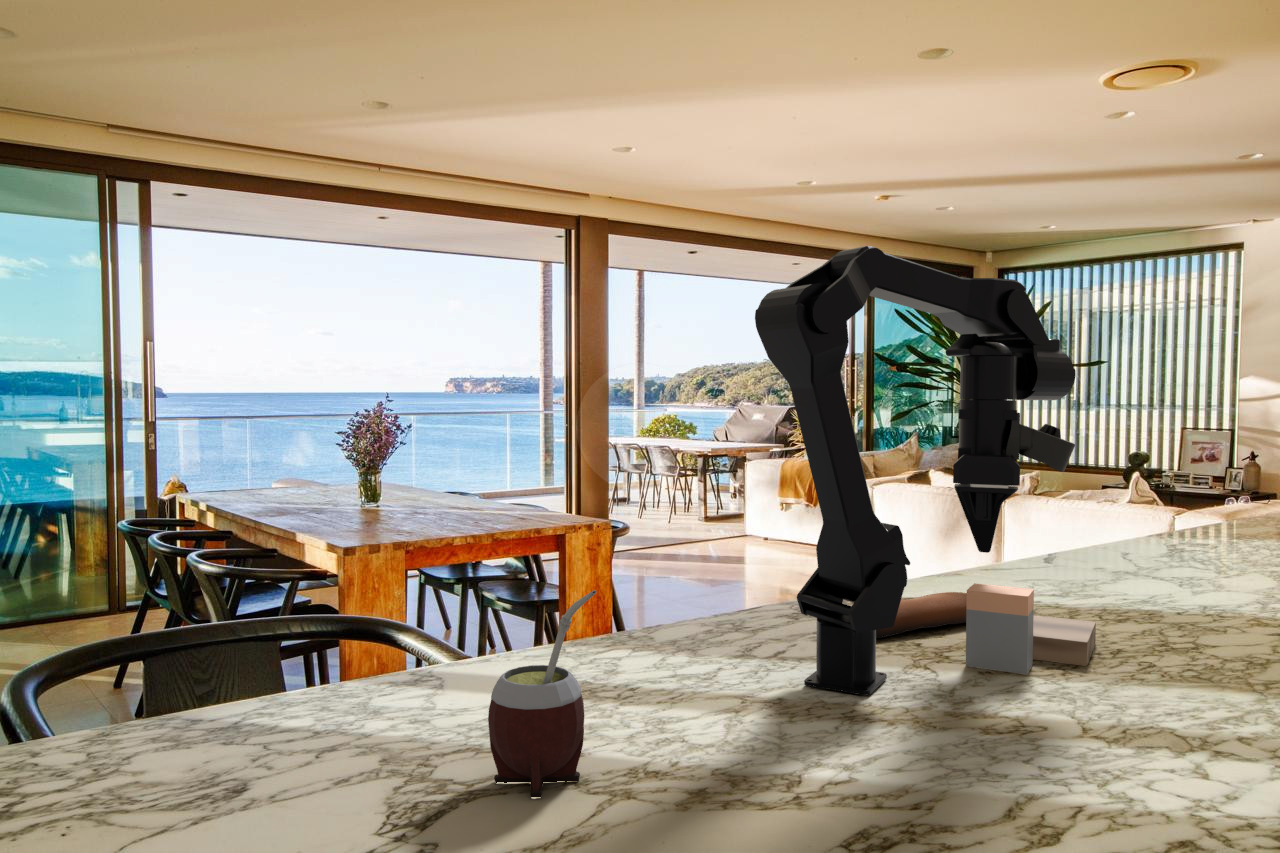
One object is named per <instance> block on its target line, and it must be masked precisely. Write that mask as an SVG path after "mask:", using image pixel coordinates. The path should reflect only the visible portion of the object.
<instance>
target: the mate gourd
mask: <svg viewBox="0 0 1280 853" xmlns="http://www.w3.org/2000/svg"><path fill="white" fill-rule="evenodd" d="M596 594H597V590H596V589H594V590H592V591H590V592H589V593H587V594H585V595H584V596H582V597H581V598H579V599H578V600H576V601H575V602H574V603H573V604H572V605H570V607H569V608H568V609H567V610H566V612H565V614H562V615H561V617H560V620H559V623H558V626H557V629H558V630H557V635H556V638H555V642H554V645H553V649H552V650H551V651H552V652H551V655H550V658H549V662H548V665H547V664H535V665H534V664H532V665H525V666H524V665H523V666H517V667H515V668H511V669H509V670H507V671H506V672H504V673H502V674H501V675H500V676H499V678H498V679H497V681H496V683H495V684H494V687H493V688H492V691H491V696H490V703H489V708H488V719H487V722H488V732H489V733H488V734H489V744H490V745H489V746H490V751H491V754H492V757H493V761H494V764H495V767H496V771H497V774H494V776H493V779H494V783H495V782H496V783H497V782H504V783H507V782H531V785H530V789H529V794H530V796H529V798H530V797H541V795H542V796H543V787H542V785H543V786H544V784H543V782H557V781H565V782H567V781H579V782H580V777H581V772H579V771H577V768H578V765H579V761H580V758H581V754H582V750H583V746H584V737H585V736H584V735H585V728H584V727H585V706H584V698H583V694H582V688H581V685H580V684H579V682H578V680H577V679H576V677H575V676H574V675H573V673H572V672H571V671H569V670H567V668H564V667H562V666H561V667H560V666H557V664H558V662H559V661H558V660H559V657H560V655H561V654H560V653H561V649H562V647H563V643H564V639H565V636H566V633H567V632H568V631H569V629H570V627H571V624H572V621H573V619H572V617H573V616H574V615H575V614H576V612H577V611H578V610H579V609H580V608H581V607H583V605H584V604H585V603H587V602H588V601H589V600H590V599H591V598H592V597H594V596H595V595H596ZM541 798H542V797H541Z"/></svg>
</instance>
